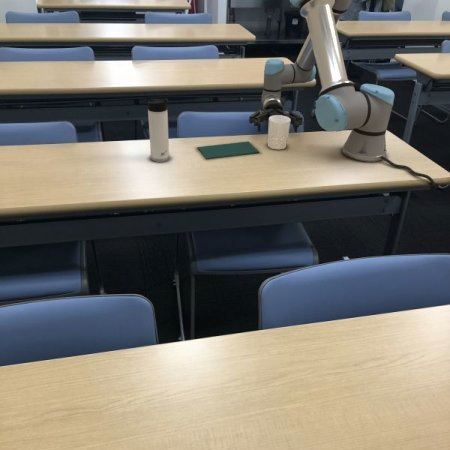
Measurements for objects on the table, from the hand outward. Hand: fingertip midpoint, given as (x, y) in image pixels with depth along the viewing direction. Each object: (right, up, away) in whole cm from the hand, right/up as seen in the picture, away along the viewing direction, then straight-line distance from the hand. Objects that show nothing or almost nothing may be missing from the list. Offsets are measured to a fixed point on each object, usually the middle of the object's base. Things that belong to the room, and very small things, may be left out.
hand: (277, 128), depth 177 cm
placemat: (-18, -9, -3) cm, 21 cm away
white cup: (0, -6, +2) cm, 6 cm away
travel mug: (-42, -14, -10) cm, 45 cm away
